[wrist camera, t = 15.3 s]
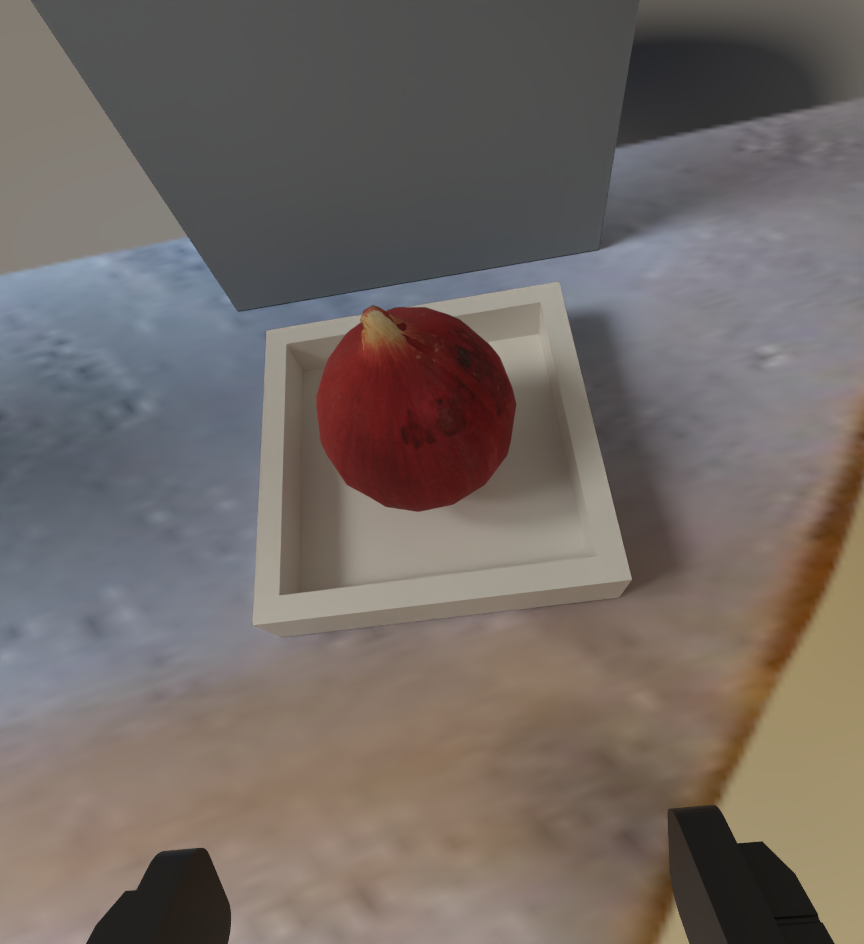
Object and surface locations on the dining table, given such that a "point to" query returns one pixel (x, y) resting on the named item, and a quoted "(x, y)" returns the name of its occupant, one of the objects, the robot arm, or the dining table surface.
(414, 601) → the tray
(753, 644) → the dining table surface
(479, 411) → the onion
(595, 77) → the inverted l bracket
